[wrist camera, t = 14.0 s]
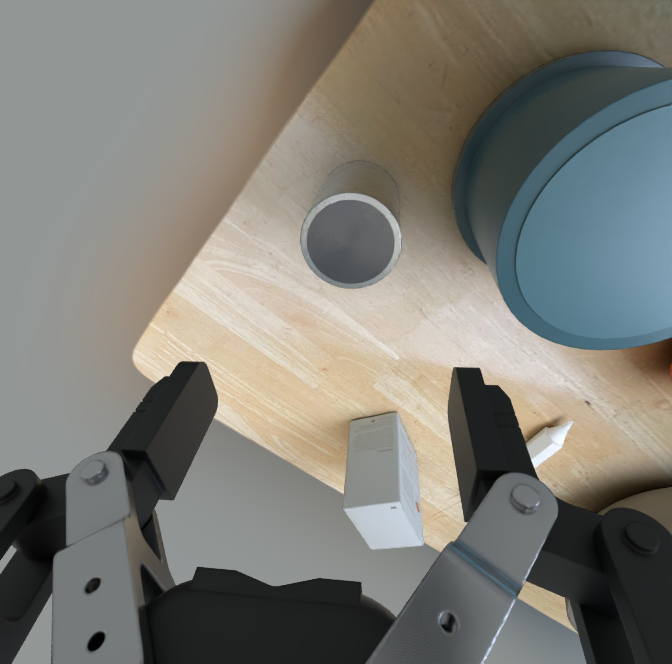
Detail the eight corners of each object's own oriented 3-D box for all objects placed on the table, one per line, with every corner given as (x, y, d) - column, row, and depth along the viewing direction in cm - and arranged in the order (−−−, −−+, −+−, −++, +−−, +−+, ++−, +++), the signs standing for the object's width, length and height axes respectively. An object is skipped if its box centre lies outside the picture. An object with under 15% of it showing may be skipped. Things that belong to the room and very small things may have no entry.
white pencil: (569, 407, 40) (477, 486, 49) (558, 409, 38) (466, 489, 47) (589, 429, 38) (490, 506, 47) (578, 431, 37) (478, 510, 46)
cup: (315, 162, 28) (293, 194, 21) (399, 158, 27) (403, 190, 21) (323, 241, 31) (306, 289, 25) (397, 239, 31) (400, 289, 24)
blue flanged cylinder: (464, 61, 24) (511, 64, 15) (729, 39, 22) (970, 26, 13) (443, 274, 32) (465, 359, 23) (633, 271, 30) (739, 363, 21)
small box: (349, 419, 43) (340, 508, 35) (398, 409, 41) (400, 501, 33) (372, 462, 47) (369, 551, 39) (417, 455, 46) (424, 547, 37)
